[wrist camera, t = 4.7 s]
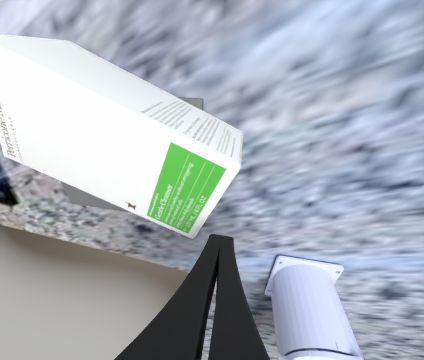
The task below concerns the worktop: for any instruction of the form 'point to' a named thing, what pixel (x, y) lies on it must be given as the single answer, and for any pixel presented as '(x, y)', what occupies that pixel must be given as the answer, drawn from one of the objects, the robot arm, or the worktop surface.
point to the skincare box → (113, 133)
